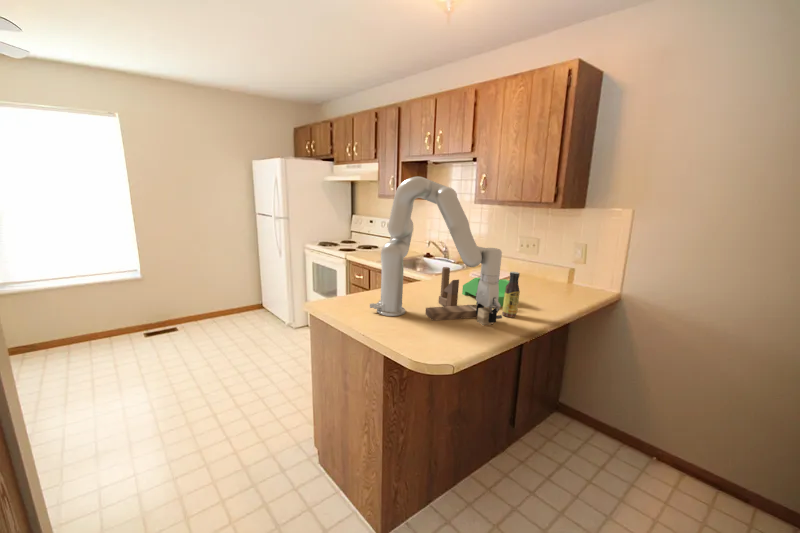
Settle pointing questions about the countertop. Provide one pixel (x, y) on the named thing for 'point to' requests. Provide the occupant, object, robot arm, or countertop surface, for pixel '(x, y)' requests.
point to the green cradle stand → (472, 286)
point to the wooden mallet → (448, 289)
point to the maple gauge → (485, 316)
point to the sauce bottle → (511, 296)
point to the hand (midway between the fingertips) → (485, 318)
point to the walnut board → (451, 312)
